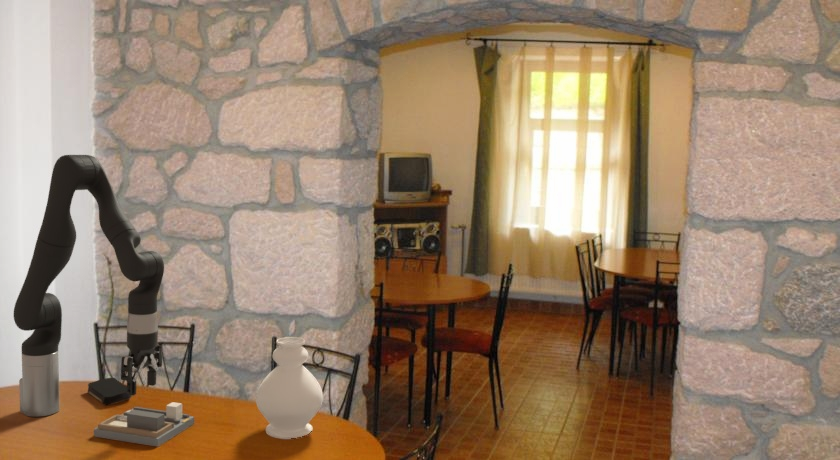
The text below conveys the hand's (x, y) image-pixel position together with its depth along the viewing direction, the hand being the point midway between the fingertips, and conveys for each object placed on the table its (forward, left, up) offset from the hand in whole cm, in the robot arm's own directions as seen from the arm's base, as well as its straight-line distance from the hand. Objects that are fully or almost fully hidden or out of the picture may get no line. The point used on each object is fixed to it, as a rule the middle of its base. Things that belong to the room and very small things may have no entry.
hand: (141, 389), depth 206 cm
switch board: (-2, +4, -13) cm, 13 cm away
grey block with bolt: (-1, 0, -10) cm, 10 cm away
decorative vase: (+34, +17, -13) cm, 40 cm away
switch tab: (+4, +9, -10) cm, 14 cm away
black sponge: (-27, +23, -13) cm, 38 cm away
